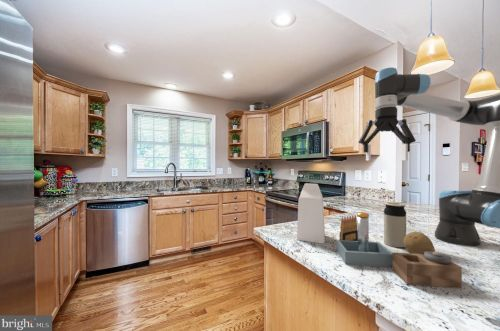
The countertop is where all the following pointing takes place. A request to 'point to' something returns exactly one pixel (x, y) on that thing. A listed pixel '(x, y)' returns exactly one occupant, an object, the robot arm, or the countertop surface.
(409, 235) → the natural sponge
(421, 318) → the countertop surface
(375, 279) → the countertop surface
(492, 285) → the countertop surface
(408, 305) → the countertop surface
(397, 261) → the block
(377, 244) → the tray
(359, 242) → the pin
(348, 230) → the ammunition clip
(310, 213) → the milk
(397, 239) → the travel mug
